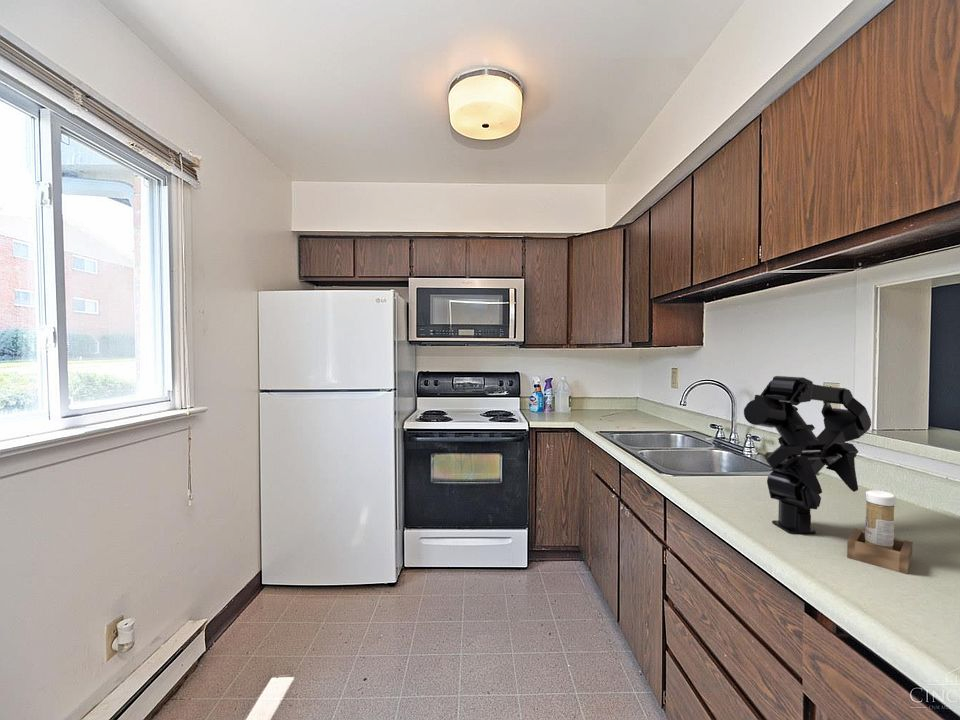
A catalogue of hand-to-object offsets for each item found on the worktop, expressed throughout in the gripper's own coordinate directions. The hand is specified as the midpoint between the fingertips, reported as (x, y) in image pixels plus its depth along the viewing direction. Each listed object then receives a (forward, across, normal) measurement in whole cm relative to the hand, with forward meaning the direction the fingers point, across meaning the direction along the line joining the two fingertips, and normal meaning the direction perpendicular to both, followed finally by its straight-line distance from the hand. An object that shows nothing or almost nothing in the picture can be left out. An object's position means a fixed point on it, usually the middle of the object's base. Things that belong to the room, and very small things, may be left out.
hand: (838, 492), depth 92 cm
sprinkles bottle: (+11, -8, -8) cm, 16 cm away
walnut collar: (+11, -8, -8) cm, 16 cm away
